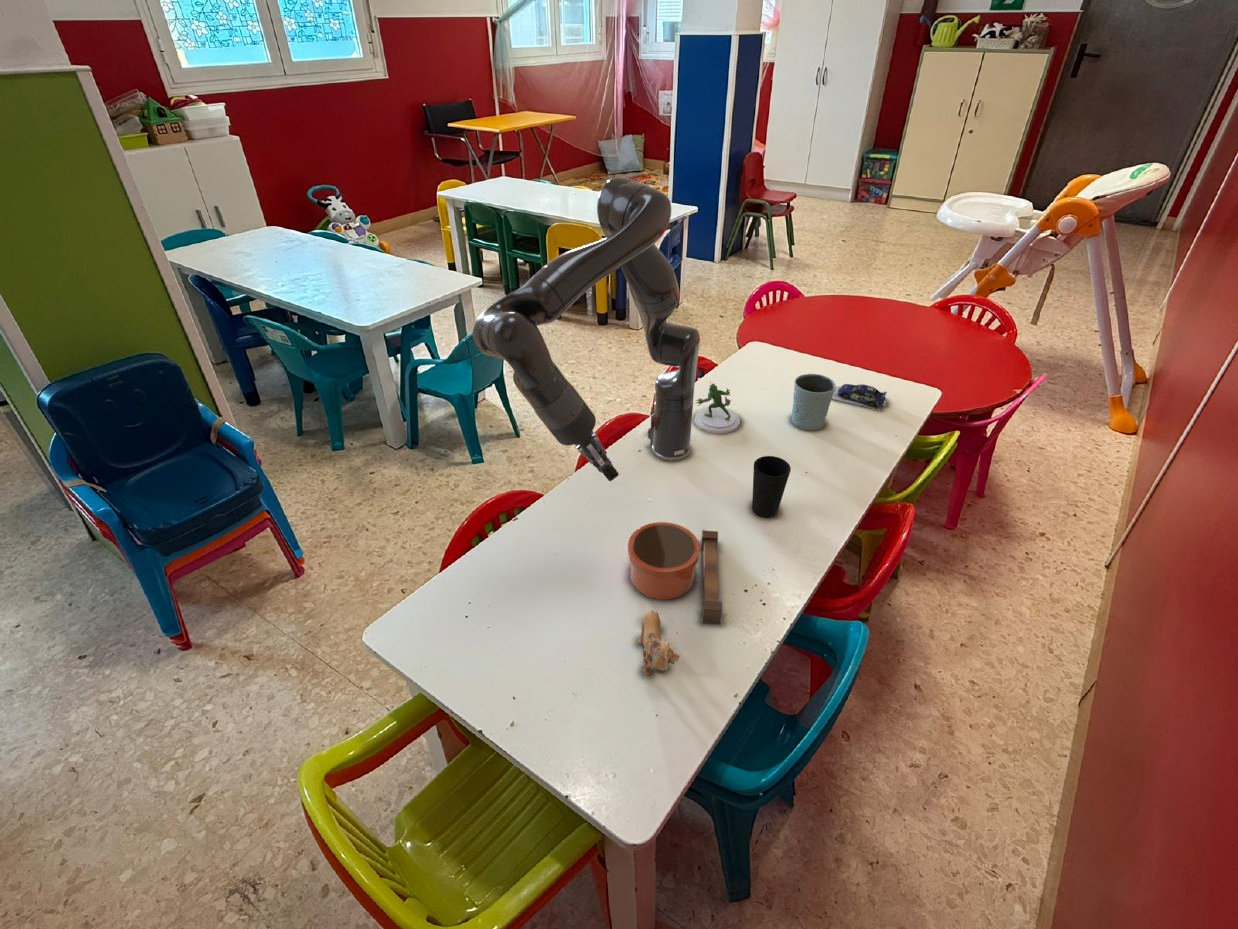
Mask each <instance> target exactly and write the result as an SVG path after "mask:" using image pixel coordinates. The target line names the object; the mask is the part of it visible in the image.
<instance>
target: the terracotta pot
mask: <svg viewBox="0 0 1238 929" xmlns="http://www.w3.org/2000/svg"><path fill="white" fill-rule="evenodd" d="M700 551H701V545H700V542H699V540H698V538H697V537H696V536H695V534H694V533H693V532H692V531H691V530H689V529H688V528H687V527H685V526H682V525H680V524H678V523H674V522H667V521H658V522H657V521H656V522H651V523H647V524H643V525H641V527H639V528H637V529H636V530H634V531H633V533H632V534H631V535H630V536H629V539H628V541H627V557H628V559H629V562H630V580H631V583H632V584H633V586H634V588H635V589H636V590H637V591H639V592H640V593H641V594H643V595H645V596H647V597H649V598H653V599H657V600H671V599H675V598H679V597H681V596H683V595H684V594H686V593H687V592H688V591H690V589H691V587H692V586H693V584H694V580H695V570H696V565H698V562H699V559H700Z"/></svg>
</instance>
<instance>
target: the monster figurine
mask: <svg viewBox="0 0 1238 929" xmlns="http://www.w3.org/2000/svg"><path fill="white" fill-rule="evenodd" d="M708 381H709V380H708ZM709 383H711V381H709ZM730 391H731V389H728V388H726V390H725V391H724V390H721V389H718V386H717V385H716V384H715V383H714V382H713V383H711V384H710V385H709V386H708V392H709V393H708V394H707V397H706V398H704V399H703V398H697V399H696V400H695V404H697V407H699V406H700V405H702V404H704V403H708V402H710V401H711V400H713V402H712V403H710V404H709V405H708V407H705V408H702V409H700V410H698V411H697V412H696V413H695V415H694V424H695V426H697V427H698V428H699V429H701V430H702V431H705V432H707V433H710V434H728V433H732V432H733V431H735V430H737V429H738V428H739V426H740V422H741V419H740V417H739V415H738V414H737V413H736V412H735V411H733V410H731V409H728V408H726V407H728V406H730V404H731V401H732V400H731V399H729V398H727V396H731V392H730ZM722 396H725V398H724V403H723V398H722Z"/></svg>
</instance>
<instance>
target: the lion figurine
mask: <svg viewBox="0 0 1238 929" xmlns="http://www.w3.org/2000/svg"><path fill="white" fill-rule="evenodd" d="M643 615H644V616H643V617H642V618H641V620H642V621H641V626H640V627H641V628H640V629H641V633H640V637H639V639H638V641H637V644H638V645H639V646H644V647H643V650H642V656H643V663H644V669H643V674H644V675H646V676H649V675H651V671H652V670H658V671H662V672H664V671H666V670H668V668H669V665H670V664H671V665H676V663H677V662H678V661H679V660H680V658H681V656H680V655H679V654H678V653H675V652H674V649H673V648H671V646H670V642H669V641H668V640H666V641H663V640H662V635H661V632H660V627H661V625H662V624H661V622H662V620H661V618H660V615H659V613H658V612H656V611H654V610H653V609H651V610H649V611H648V612H645V614H643Z"/></svg>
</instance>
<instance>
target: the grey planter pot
mask: <svg viewBox="0 0 1238 929" xmlns="http://www.w3.org/2000/svg"><path fill="white" fill-rule="evenodd" d="M793 385H794V387H793V391H794V392H793V398H792V399H793V401H792V410H791V411H792V412H791V423H792V424H793V426H795V427H797V428H798V429H801V430H805V431H818V430H820V429H822V428H823V427H824V425H825V422H826V417H827V415H828V413H829V410H830V406H831V401H832V396H833V393H834V390H835V388H837V386H836V382H835V381H834V380H833V379H831V378H829V377H828V376H826V375H822V374H819V373H806V374H801V375H798V376H797V377H796V378H795V379H794V384H793Z"/></svg>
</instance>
